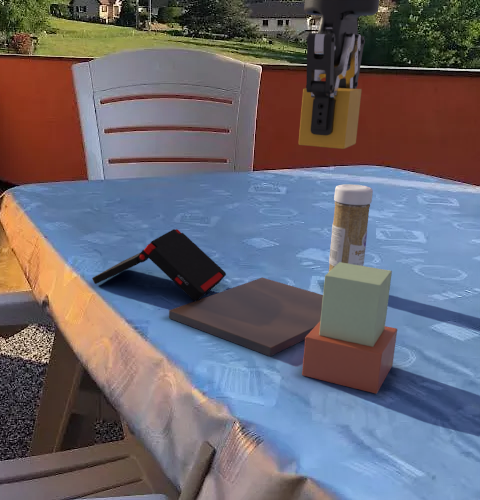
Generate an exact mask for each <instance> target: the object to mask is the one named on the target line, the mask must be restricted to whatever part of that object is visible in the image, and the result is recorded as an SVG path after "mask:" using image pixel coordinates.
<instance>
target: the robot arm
mask: <svg viewBox="0 0 480 500" xmlns="http://www.w3.org/2000/svg"><path fill="white" fill-rule="evenodd" d="M303 5H304V7H303V10H304V12H305V14H306V15H309V16H320V20H319V26H318V29H317V32H309V33H308V34H307V37H306V85H305V88H306V90H307V92H311V97H312V98H315V99H313V109H312V120H311V133H312V134H315V135H330V134H331V133H332V132H333V123H334V113H335V103H336V100H332V99H336V97H337V94H338V88H351V89H358V86H359V77H360V72H361V71H360V69H361V65H362V64H361V63H362V58H363V52H364V46H365V43H366V39H365V36H364V35H361V34H359V33H358V32H359V31H358V23H359V22H358V19H359V17H368V16H369V17H370V16H374V15H376V14H377V13H378V11H379V7H380V0H304V4H303ZM322 79H325V80H322Z"/></svg>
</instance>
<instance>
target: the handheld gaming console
mask: <svg viewBox="0 0 480 500" xmlns="http://www.w3.org/2000/svg"><path fill="white" fill-rule="evenodd" d="M148 260H150V261H151V263H153V264H154V265H155V266H156V267H158V268H159V269H160V270H161V271H162V273H164V274H165V275H166V276H167V277H168V278H169V279H170V280H171V281H172V282H174V284H175V285H176V286H178V287H179V288H180V290H182V292H184V293H185V294H186V295H187V296H188V297H189V298H190V299H191V300H193V301H197V300H200V299H202V298H203V296H205V295H206V294H208V292H210V291H211V290H212V289H213V288H215V287H216V286H217V285H218V284H220V282H221V281H222V280H223V279H225V277H226V276H227V273H226V271H225V270H223V268H222V267H221V266H219V264H217V263H216V262H215V261H214V260H213V259H212V258H211V257H210V256H208V255H207V254H206V253H205V252H204V251H203V250H202V249H201V248H200V247H199V246H198V245H197V244H196V243H195V242H193V240H191V239H190V238H189V237H188V236H187V235H186V234H185V233H184V232H181V231H180V230H179V229H177V228H176V229H175V228H173V229H172V230H169V231H168V232H166V233H164V234H162V235H160V236H158V237H156V238H155V239H153V240H152V241H150V243H148V244H147V245H146V247H145V248H144V249H142V250H141V252H138V253H137V254H134V255H132V256H130V257H128V258H126V259H124V260H122V261H120V262H118V263H117V264H115V265H113V266H111V267H109V268H108V269H106V270H104V271H102V272H100V273H98V274H96V275H95V276H93V277H92V278H91V279H92V282H93V284H95V285H97V284H99V283H101V282H103V281H105V280H107V279H110V278H112V277H113V276H116V275H119V274H121V273H122V272H124V271H126V270H129V269H131V268H133V267H135V266H137V265H139V264H141V263H145V262H146V261H148Z"/></svg>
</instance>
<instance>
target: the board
mask: <svg viewBox="0 0 480 500" xmlns="http://www.w3.org/2000/svg"><path fill="white" fill-rule="evenodd" d="M322 301H323V294H321V293H318V292H315V291H314V292H313V291H310V290H307V289H303V288H301V287H297V286H294V285H289V284H287V283H283V282H280V281H277V280H276V281H275V280H273V279H269V278H265V277H260V278H257V279H254V280H251V281H248V282H246V283H242V284H240V285H237V286H234V287H231V288H229V289H225V290H223V291H220V292H217V293H214V294H212V295H208V296H206V297H202V298H200V299H199V300H197V301H195V300H193V301H191V302H188V303H186V304H182V305H180V306H178V307H175V308H172V309H169V310H168V319H170V320H173V321H176V322H178V323H181V324H184V325H186V326H189V327H191V328H194V329H197V330H199V331H202V332H205V333H207V334H210V335H211V336H214V337H218V338H220V339H223V340H225V341H228V342H231V343H234V344H236V345H239V346H242V347H244V348H247V349H249V350H251V351H255V352H257V353H260V354H262V355H266V356H267V357H272V356H274V355H277V354H278V353H281V352H282V351H285V350H286V349H289V348H291V347H293V346H294V345H297V344H299V343H301V342H303V341H305V337H306V336H307V335H308V334H309V333H310V332H311V331H312V330H313V328H314V327H315V326H316V325H317V324H318V323H319V322H320V321H321V311H322Z"/></svg>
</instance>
